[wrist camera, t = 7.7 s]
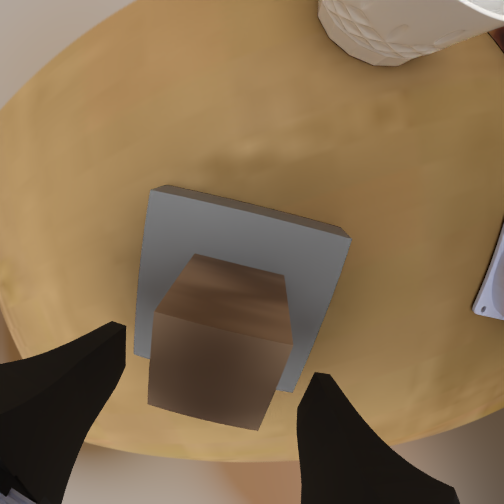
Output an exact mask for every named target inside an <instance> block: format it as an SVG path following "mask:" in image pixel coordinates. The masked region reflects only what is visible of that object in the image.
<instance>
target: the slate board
mask: <svg viewBox="0 0 504 504" xmlns="http://www.w3.org/2000/svg"><path fill="white" fill-rule="evenodd" d="M351 241H352V239H351V238H350V237H349V235H348V234H347V233H346V232H345V231H344V230H343V229H342V228H341V227H337V226H334V225H330V224H326V223H323V222H319V221H315V220H312V219H308V218H304V217H300V216H296V215H293V214H289V213H285V212H281V211H277V210H273V209H269V208H265V207H261V206H257V205H253V204H249V203H245V202H241V201H236V200H232V199H228V198H224V197H219V196H215V195H211V194H206V193H202V192H197V191H193V190H188V189H184V188H179V187H174V186H170V185H164V186H161V187H158V188H154V189H151V190H150V196H149V202H148V208H147V214H146V221H145V228H144V236H143V243H142V251H141V260H140V269H139V279H138V290H137V303H136V317H135V336H134V354H135V355H138V356H141V357H144V358H147V359H150V352H151V339H152V328H153V317H154V311H155V309H156V308H157V306H158V305H159V303H160V302H161V301H162V299H163V298H164V296H165V295H166V293H167V292H168V290H169V289H170V288H171V286H172V285H173V283H174V282H175V280H176V279H177V278H178V276H179V275H180V273H181V272H182V270H183V269H184V268H185V266H186V265H187V263H188V262H189V261H190V259H191V258H192V256H193V255H194V254H199V255H203V256H207V257H212V258H216V259H220V260H224V261H228V262H232V263H236V264H240V265H244V266H248V267H252V268H256V269H260V270H264V271H269V272H273V273H277V274H281V275H284V278H285V285H286V293H287V300H288V308H289V315H290V323H291V331H292V339H293V347H292V350H291V353H290V355H289V358H288V360H287V363H286V365H285V368H284V370H283V373H282V375H281V378H280V380H279V383H278V385H277V388H276V390H280V391H286V392H292V393H293V390H294V388H295V386H296V384H297V381H298V379H299V377H300V375H301V372H302V370H303V368H304V366H305V363H306V361H307V359H308V356H309V354H310V351H311V349H312V347H313V344H314V342H315V339H316V337H317V334H318V332H319V329H320V327H321V324H322V322H323V319H324V317H325V314H326V311H327V309H328V306H329V304H330V301H331V298H332V295H333V293H334V290H335V287H336V285H337V282H338V279H339V276H340V273H341V270H342V268H343V265H344V262H345V259H346V256H347V253H348V250H349V247H350V244H351Z"/></svg>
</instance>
